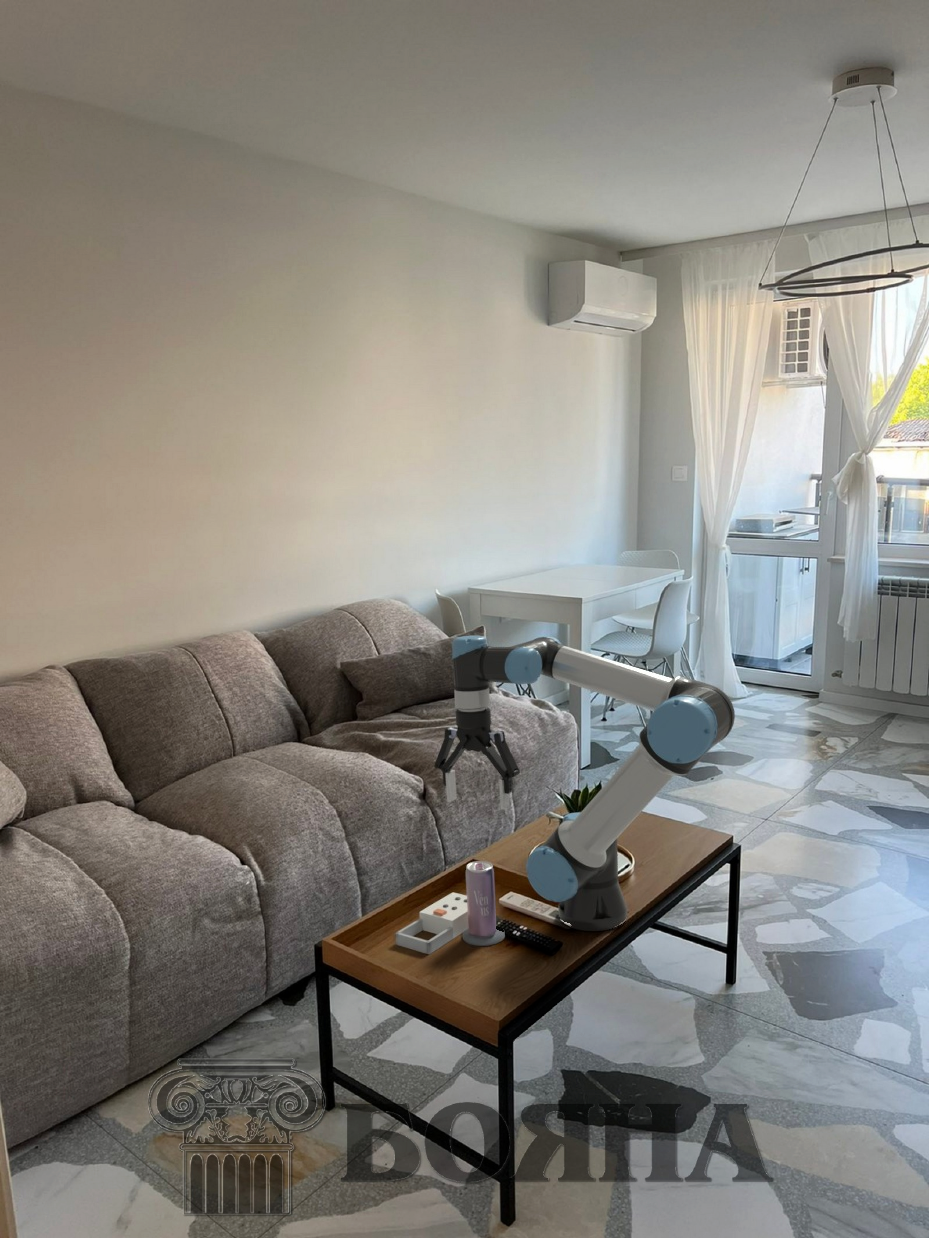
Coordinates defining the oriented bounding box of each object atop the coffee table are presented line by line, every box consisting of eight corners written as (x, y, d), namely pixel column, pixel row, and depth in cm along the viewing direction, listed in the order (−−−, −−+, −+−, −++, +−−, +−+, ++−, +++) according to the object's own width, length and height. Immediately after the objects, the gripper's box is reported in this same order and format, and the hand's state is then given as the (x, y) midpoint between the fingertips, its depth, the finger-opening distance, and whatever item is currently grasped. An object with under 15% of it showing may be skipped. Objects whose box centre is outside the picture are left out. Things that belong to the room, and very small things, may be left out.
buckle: (471, 898, 221) (470, 879, 221) (503, 905, 216) (502, 886, 215) (395, 944, 199) (394, 923, 199) (429, 954, 194) (427, 933, 194)
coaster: (512, 932, 202) (512, 930, 202) (488, 949, 195) (488, 946, 195) (478, 923, 207) (478, 921, 207) (454, 939, 200) (454, 937, 200)
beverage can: (495, 926, 204) (492, 859, 202) (497, 938, 198) (494, 870, 196) (468, 927, 204) (464, 861, 202) (469, 940, 198) (465, 872, 196)
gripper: (532, 708, 199) (537, 805, 201) (434, 701, 212) (440, 792, 214) (515, 715, 192) (520, 816, 195) (415, 707, 206) (421, 802, 208)
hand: (478, 804), depth 204 cm, fingers open, 13 cm apart
